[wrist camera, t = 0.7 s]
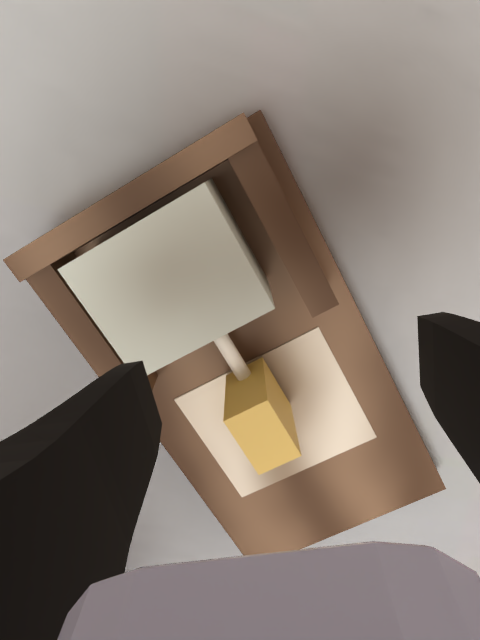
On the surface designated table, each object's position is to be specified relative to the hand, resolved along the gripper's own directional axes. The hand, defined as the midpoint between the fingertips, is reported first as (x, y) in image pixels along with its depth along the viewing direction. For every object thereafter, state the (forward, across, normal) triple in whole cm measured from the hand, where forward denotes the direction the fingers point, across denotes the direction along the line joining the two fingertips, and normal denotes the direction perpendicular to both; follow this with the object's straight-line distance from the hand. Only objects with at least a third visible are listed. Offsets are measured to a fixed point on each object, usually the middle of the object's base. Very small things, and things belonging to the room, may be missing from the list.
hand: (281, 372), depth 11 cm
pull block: (+9, +3, +2) cm, 9 cm away
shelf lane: (+10, +1, +6) cm, 12 cm away
